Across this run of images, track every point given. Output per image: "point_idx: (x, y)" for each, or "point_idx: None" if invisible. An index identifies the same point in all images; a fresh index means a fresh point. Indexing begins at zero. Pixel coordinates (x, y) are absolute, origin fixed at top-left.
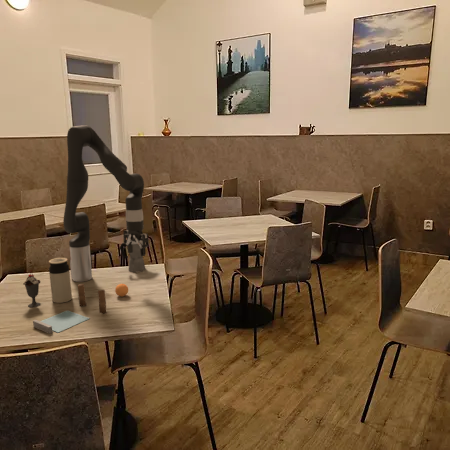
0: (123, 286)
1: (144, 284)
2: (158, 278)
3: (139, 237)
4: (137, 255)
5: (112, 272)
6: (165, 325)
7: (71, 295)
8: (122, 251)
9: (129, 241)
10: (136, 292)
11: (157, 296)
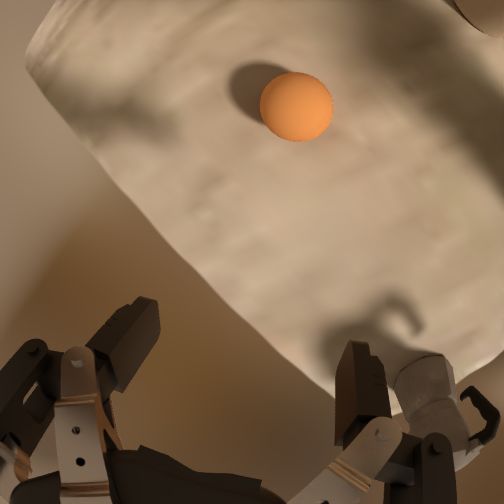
0: (270, 96)
1: (305, 276)
2: (294, 346)
3: (40, 476)
4: (422, 419)
5: (492, 321)
6: (31, 60)
7: (468, 9)
8: (484, 405)
9: (321, 473)
10: (269, 178)
11: (157, 188)
